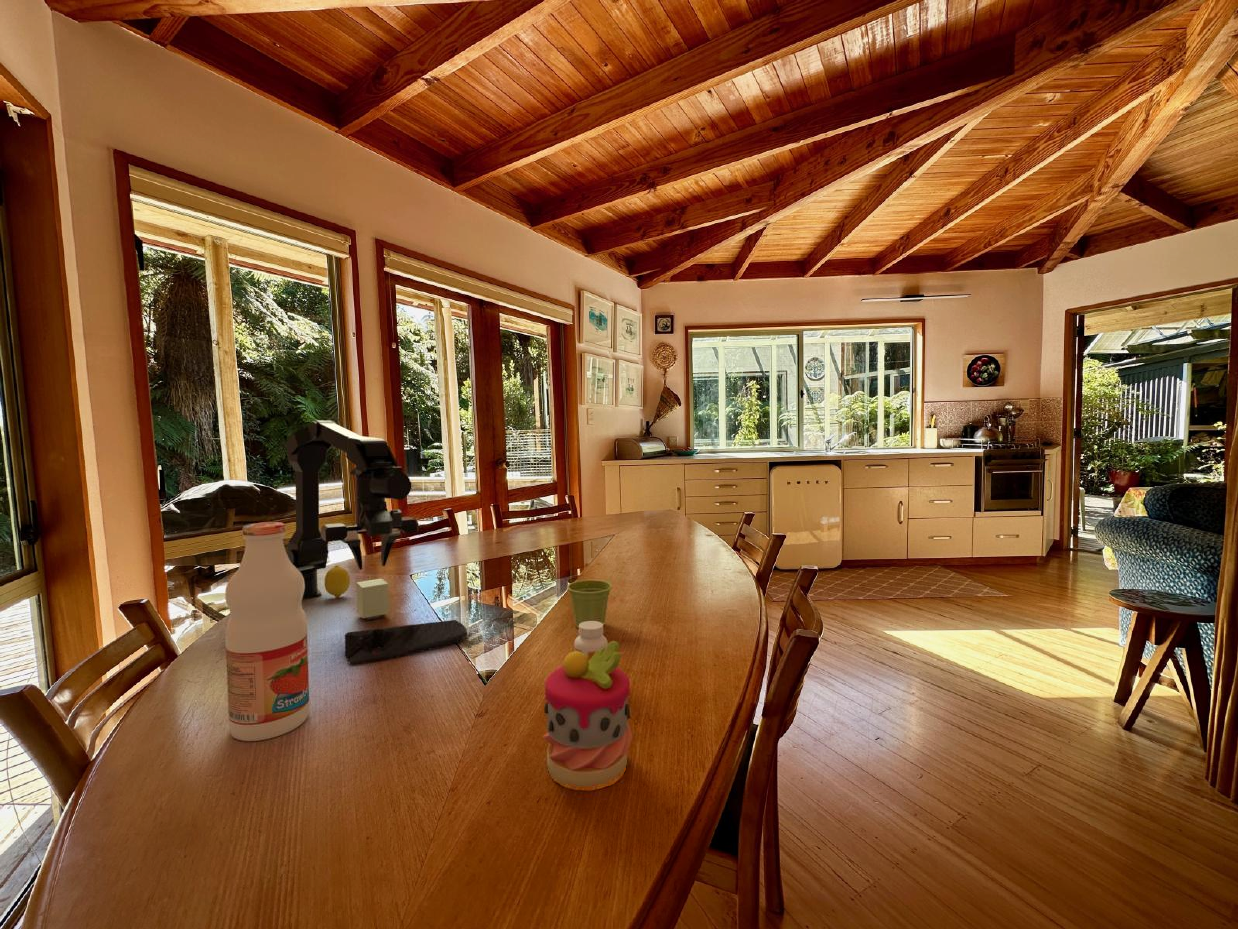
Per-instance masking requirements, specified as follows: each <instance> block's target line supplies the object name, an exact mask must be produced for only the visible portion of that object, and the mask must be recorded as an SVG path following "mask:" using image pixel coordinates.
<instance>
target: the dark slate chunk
mask: <svg viewBox="0 0 1238 929" xmlns="http://www.w3.org/2000/svg"><path fill="white" fill-rule="evenodd" d="M467 635H468V630H467V628H466V627H465V625H464V624H463V623H461V622H460V621H458V620H457V619H450V620H443V621H436V622H426V623H425V622H424V623H418V624H417V623H416V624H406V625H396V626H388V627H381V628H380V627H379V628H372V629H364V630H355V631H348V632H346V633H345V634H344V657H345V659H346V660H347V662H348V664H349V665H352V666H356V665H362V664H364V663H369V662H379V661H383V660H385V661H386V660H388V659H393V658H398V657H404V656H406V655H410V654H414V653H421V652H423V651H430V650H434V649H440V648H444V647H447V646H451V645H453V644H454V645H455V644H457V643H458V642H461V641H463V640H465V639H466V638H467ZM376 648H377V649H380V651H381V652H377V653H376V652H372V650H373V649H376Z"/></svg>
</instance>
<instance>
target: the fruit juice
mask: <svg viewBox="0 0 1238 929" xmlns="http://www.w3.org/2000/svg"><path fill="white" fill-rule="evenodd" d="M286 530H287V529H286V524H285V523H284V522H282V521H281V522H279V521H278V522H277V521H272V522H271V521H269V522H268V521H267V522H266V521H265V522H257V523H255V522H254V523H250V524H246V525H244V526H242V530H241V534H242V539H243V540H245V547H244V553H243V557H242V558H241V562H240V565H239V567H238V568H237V570H236V571H235V572H234V574H233V575H232V576H231V577H230V579H229V580H228V582H227V584H226V587H225V593H224V594H225V595H224V598H225V602H226V603H225V604H226V605H227V607H228V610H229V614H230V617H229V620H228V622H227V624H226V628H225V653H226V655H225V657H226V680H227V681H226V682H227V684H226V685H227V705H228V706H227V710H228V712H227V713H228V728H229V733H230V735H231V736H232V738H234V739H236V740H239V741H243V742H257V741H264V740H268V739H272V738H277V737H280V736H282V735H284V734H287V733H289V732H291V731H293V730H295V729H298V727H299V726H301V725H302V724H303V723H304V722H305V721H306V720H307V718H308V715H309V713H310V683H309V682H310V681H309V676H310V675H309V651H308V650H309V645H308V644H309V643H308V641H309V640H308V621H307V615H306V612H305V610H304V609H303V605H302V602H303V599H304V598H303V594H304V590H305V584H304V578H303V576H302V574H301V572H300V571H299V570H298V569H297V568H296V567H295V566H294V565H293V564H292V563H291V561H290V559H289V557H288V555H287V550H286V547H285V544H284V537H285V535H286Z"/></svg>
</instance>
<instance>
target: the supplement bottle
mask: <svg viewBox="0 0 1238 929" xmlns="http://www.w3.org/2000/svg"><path fill="white" fill-rule="evenodd" d="M608 644H609V643H608V639H607V638H606V637H605V636H604V627H603V624H602V623H601V622H597V621H586V622H582V623H580V624H579V629H578V636H577V637H576V638H575V639H574V651H579V652H581V653H583V654H585V655H586V657H587V658H588V661H589V660H590V659H591V658H592V657H593V655H594V654H595V653H596V652H597V651H598V650H599V649H601V650H603V651H604V650H605V649H606V647H607V645H608ZM574 651H573V652H574Z"/></svg>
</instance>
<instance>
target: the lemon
mask: <svg viewBox="0 0 1238 929" xmlns="http://www.w3.org/2000/svg"><path fill="white" fill-rule="evenodd" d="M350 583H351V577H350V574H349V572H348V570H347V569H346V568H344V567H343V566H340V565H335V566H334V567H332V568H330V569H329V570H328V571H327V572H326V574H325V577H324V588H325V591H326V593H328V595H332V596H334V597H335V598H337V599H338V598H340V597H341V596H342V595H343V594H345V593H347V591H348V590H349V587H350V585H351V584H350Z"/></svg>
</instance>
